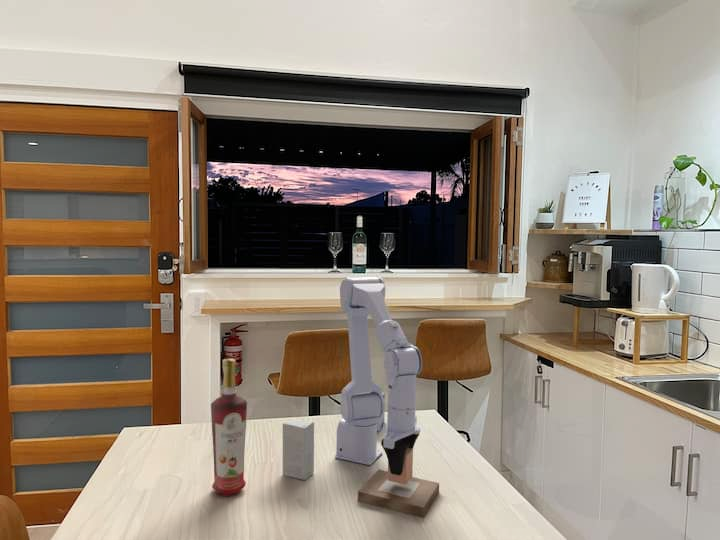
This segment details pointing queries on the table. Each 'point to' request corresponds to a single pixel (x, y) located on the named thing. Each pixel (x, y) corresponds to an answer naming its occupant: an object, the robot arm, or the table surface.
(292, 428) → the skincare box
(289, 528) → the table surface
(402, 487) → the base board
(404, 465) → the terracotta block
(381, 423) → the medicine box
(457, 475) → the table surface
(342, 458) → the robot arm
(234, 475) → the liquor
